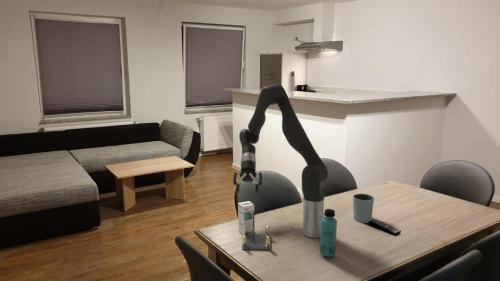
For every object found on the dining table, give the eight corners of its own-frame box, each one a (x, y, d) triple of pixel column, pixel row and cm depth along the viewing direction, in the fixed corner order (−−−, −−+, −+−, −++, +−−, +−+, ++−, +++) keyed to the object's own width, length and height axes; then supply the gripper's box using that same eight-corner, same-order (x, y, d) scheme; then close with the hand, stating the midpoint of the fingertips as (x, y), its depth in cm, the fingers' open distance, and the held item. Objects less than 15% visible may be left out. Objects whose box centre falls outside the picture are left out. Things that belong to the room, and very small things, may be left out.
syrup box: (243, 236, 169) (243, 206, 166) (238, 231, 174) (237, 202, 171) (254, 233, 172) (254, 204, 169) (248, 228, 177) (248, 200, 174)
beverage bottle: (317, 252, 155) (319, 207, 150) (333, 251, 155) (335, 206, 151) (321, 260, 148) (323, 213, 144) (337, 259, 149) (340, 213, 145)
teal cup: (373, 224, 181) (375, 201, 179) (352, 222, 183) (353, 199, 181) (371, 216, 191) (372, 194, 189) (351, 214, 193) (352, 192, 191)
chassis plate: (270, 237, 168) (270, 225, 167) (270, 250, 157) (270, 237, 155) (243, 236, 169) (243, 225, 168) (242, 249, 157) (242, 237, 156)
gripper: (233, 159, 185) (232, 188, 176) (262, 159, 185) (262, 189, 176) (234, 166, 191) (233, 195, 183) (262, 167, 191) (262, 195, 182)
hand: (247, 192), depth 179 cm, fingers open, 8 cm apart
